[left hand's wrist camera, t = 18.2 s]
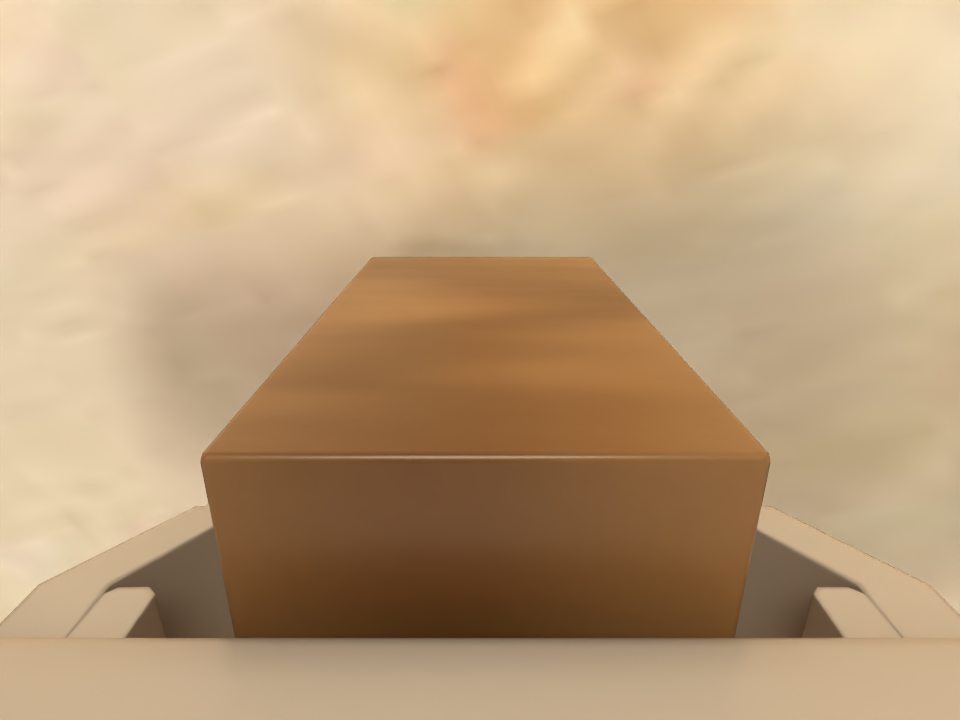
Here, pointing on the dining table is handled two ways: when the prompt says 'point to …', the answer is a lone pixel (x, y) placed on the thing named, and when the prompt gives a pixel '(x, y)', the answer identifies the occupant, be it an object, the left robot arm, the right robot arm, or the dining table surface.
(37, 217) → the dining table surface
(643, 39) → the dining table surface
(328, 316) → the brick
